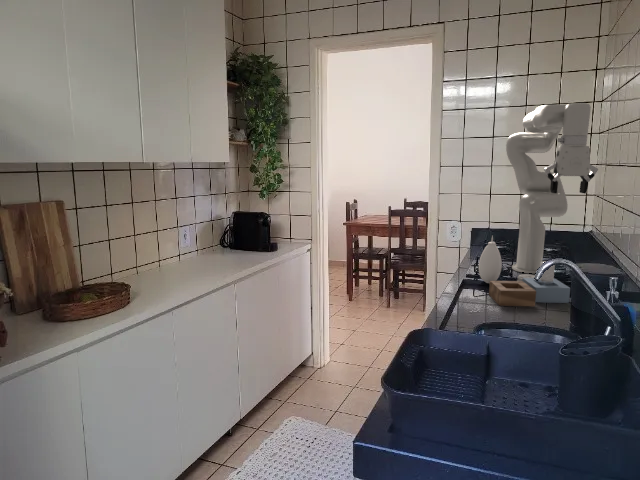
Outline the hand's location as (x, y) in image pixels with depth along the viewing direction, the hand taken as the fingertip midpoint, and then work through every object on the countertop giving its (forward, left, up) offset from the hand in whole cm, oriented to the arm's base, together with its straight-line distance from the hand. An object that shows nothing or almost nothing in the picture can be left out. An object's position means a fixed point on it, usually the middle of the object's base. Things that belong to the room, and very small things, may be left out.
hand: (568, 193), depth 158 cm
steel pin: (+9, -8, -34) cm, 36 cm away
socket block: (+9, -8, -34) cm, 36 cm away
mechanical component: (-2, -9, -35) cm, 36 cm away
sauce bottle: (-7, -22, -34) cm, 42 cm away
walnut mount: (+13, -21, -34) cm, 42 cm away
